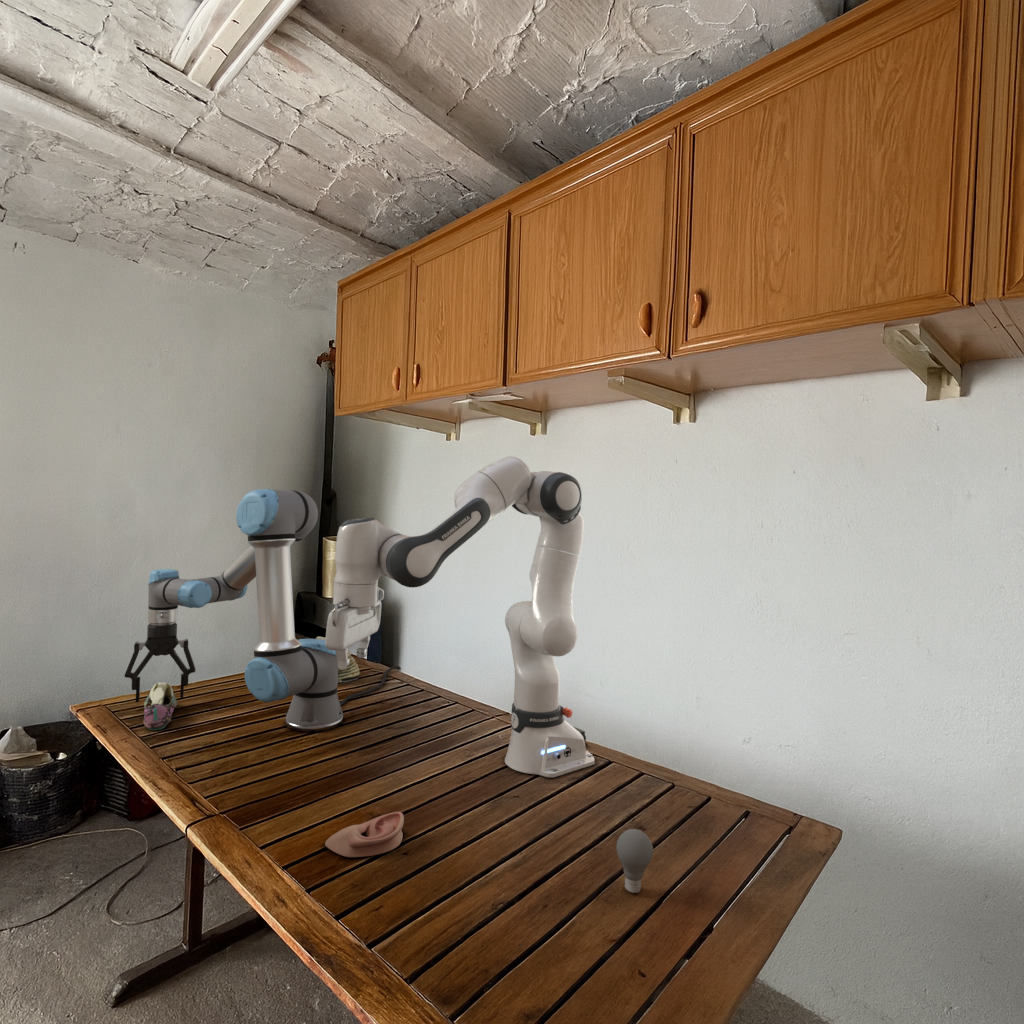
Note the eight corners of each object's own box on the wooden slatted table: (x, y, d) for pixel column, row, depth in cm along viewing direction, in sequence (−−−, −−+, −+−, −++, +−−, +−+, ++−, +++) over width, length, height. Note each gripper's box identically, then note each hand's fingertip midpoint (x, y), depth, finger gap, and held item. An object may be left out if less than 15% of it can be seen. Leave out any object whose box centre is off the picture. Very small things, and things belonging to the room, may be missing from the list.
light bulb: (610, 879, 108) (613, 822, 108) (644, 879, 109) (647, 822, 109) (619, 902, 102) (622, 840, 102) (655, 901, 103) (658, 840, 103)
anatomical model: (317, 830, 113) (346, 800, 124) (316, 852, 113) (345, 821, 124) (387, 841, 110) (410, 810, 121) (386, 864, 110) (410, 831, 121)
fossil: (300, 681, 213) (301, 637, 213) (350, 673, 226) (352, 631, 226) (311, 688, 207) (313, 642, 207) (362, 679, 219) (364, 636, 219)
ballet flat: (178, 701, 189) (179, 672, 189) (174, 729, 167) (175, 697, 167) (145, 704, 185) (146, 675, 185) (137, 733, 163) (138, 700, 163)
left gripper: (114, 627, 175) (111, 707, 175) (206, 623, 185) (204, 698, 185) (117, 622, 181) (114, 698, 182) (206, 618, 192) (203, 691, 192)
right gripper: (349, 604, 120) (346, 677, 120) (386, 590, 140) (384, 652, 141) (318, 602, 121) (315, 674, 121) (359, 588, 141) (357, 650, 141)
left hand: (160, 698), depth 184 cm, fingers open, 10 cm apart
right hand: (352, 662), depth 131 cm, fingers open, 8 cm apart
